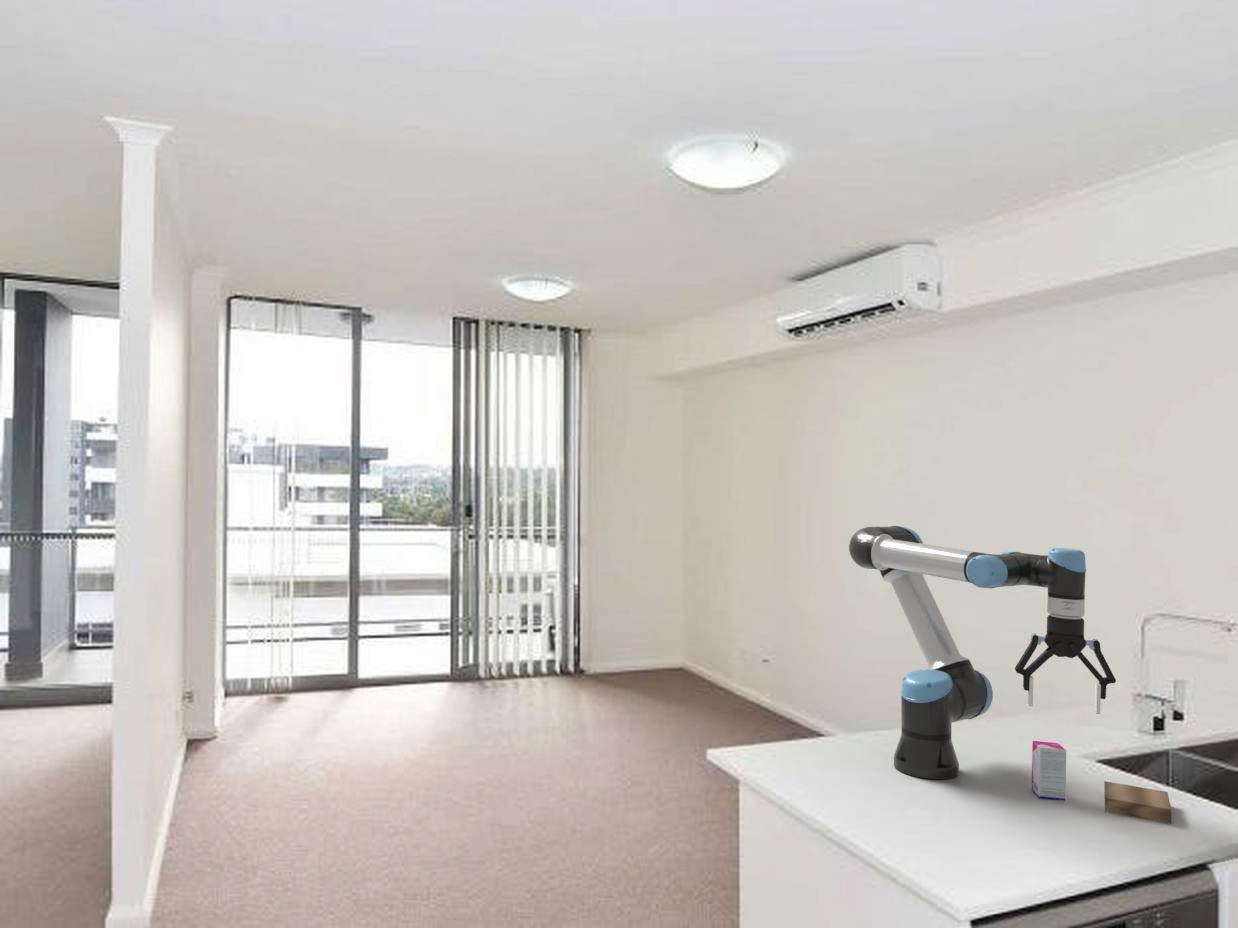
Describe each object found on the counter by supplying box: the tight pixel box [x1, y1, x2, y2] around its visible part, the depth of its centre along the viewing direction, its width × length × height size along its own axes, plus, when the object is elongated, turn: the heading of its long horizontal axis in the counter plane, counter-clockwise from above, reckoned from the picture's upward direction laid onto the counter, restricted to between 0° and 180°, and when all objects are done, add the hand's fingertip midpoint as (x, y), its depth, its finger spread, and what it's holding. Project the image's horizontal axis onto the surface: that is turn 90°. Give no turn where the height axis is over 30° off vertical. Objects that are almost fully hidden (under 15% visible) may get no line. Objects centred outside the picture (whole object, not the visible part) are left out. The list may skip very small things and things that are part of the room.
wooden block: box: [1103, 780, 1173, 825], centre depth 179 cm, size 12×12×3 cm
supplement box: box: [1030, 740, 1067, 802], centre depth 186 cm, size 6×6×12 cm
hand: (1063, 708), depth 187 cm, fingers open, 13 cm apart
